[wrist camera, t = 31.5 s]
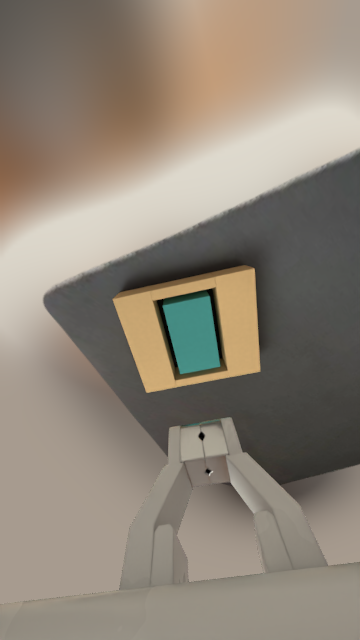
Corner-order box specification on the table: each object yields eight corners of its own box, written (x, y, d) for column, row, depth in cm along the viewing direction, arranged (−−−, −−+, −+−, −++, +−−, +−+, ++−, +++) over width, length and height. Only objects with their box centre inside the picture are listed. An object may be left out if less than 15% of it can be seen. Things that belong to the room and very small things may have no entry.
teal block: (205, 289, 24) (209, 295, 21) (215, 354, 28) (220, 366, 25) (163, 298, 24) (162, 305, 22) (179, 361, 28) (180, 374, 25)
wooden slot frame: (245, 264, 23) (254, 268, 20) (252, 358, 28) (260, 371, 26) (119, 292, 24) (112, 299, 21) (149, 378, 29) (146, 393, 26)
